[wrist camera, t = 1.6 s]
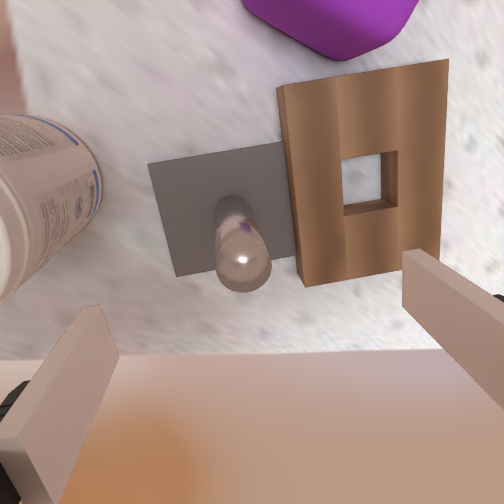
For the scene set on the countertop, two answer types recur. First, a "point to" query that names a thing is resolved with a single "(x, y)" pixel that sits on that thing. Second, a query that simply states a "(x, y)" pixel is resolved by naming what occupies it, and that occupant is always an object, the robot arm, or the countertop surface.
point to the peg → (239, 246)
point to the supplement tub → (41, 194)
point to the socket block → (361, 144)
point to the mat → (215, 188)
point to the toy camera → (336, 23)
